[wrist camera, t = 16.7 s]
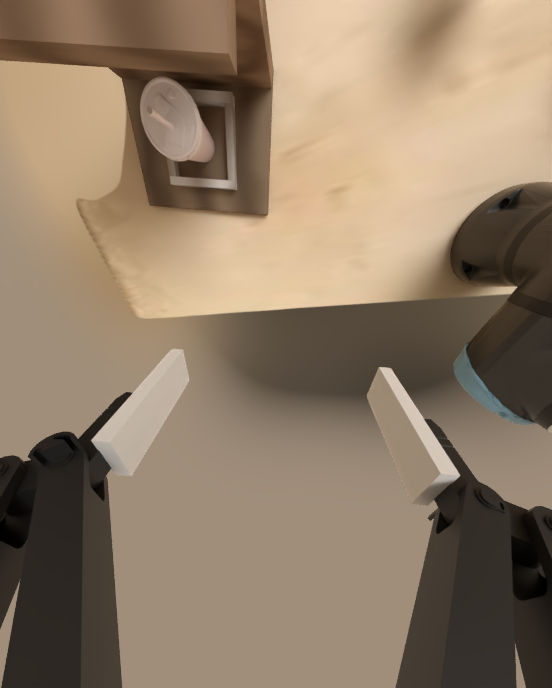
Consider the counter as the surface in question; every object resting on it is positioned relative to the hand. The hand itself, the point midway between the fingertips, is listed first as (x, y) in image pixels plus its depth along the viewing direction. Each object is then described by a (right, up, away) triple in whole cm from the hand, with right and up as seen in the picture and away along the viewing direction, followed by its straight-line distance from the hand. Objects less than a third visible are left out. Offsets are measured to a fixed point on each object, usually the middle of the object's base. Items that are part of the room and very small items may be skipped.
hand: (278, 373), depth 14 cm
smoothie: (-11, +31, +16) cm, 37 cm away
